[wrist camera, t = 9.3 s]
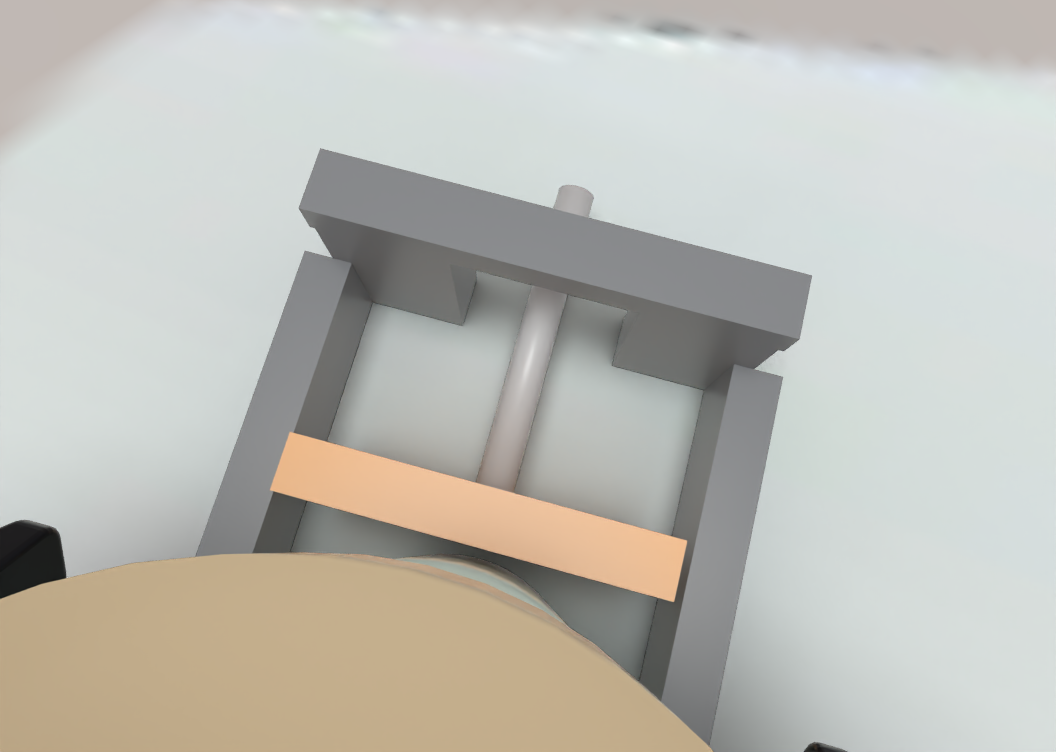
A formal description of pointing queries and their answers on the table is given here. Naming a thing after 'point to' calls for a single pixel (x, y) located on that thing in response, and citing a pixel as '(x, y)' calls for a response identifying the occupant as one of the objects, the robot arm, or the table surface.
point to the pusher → (492, 479)
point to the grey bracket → (644, 346)
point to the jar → (313, 662)
